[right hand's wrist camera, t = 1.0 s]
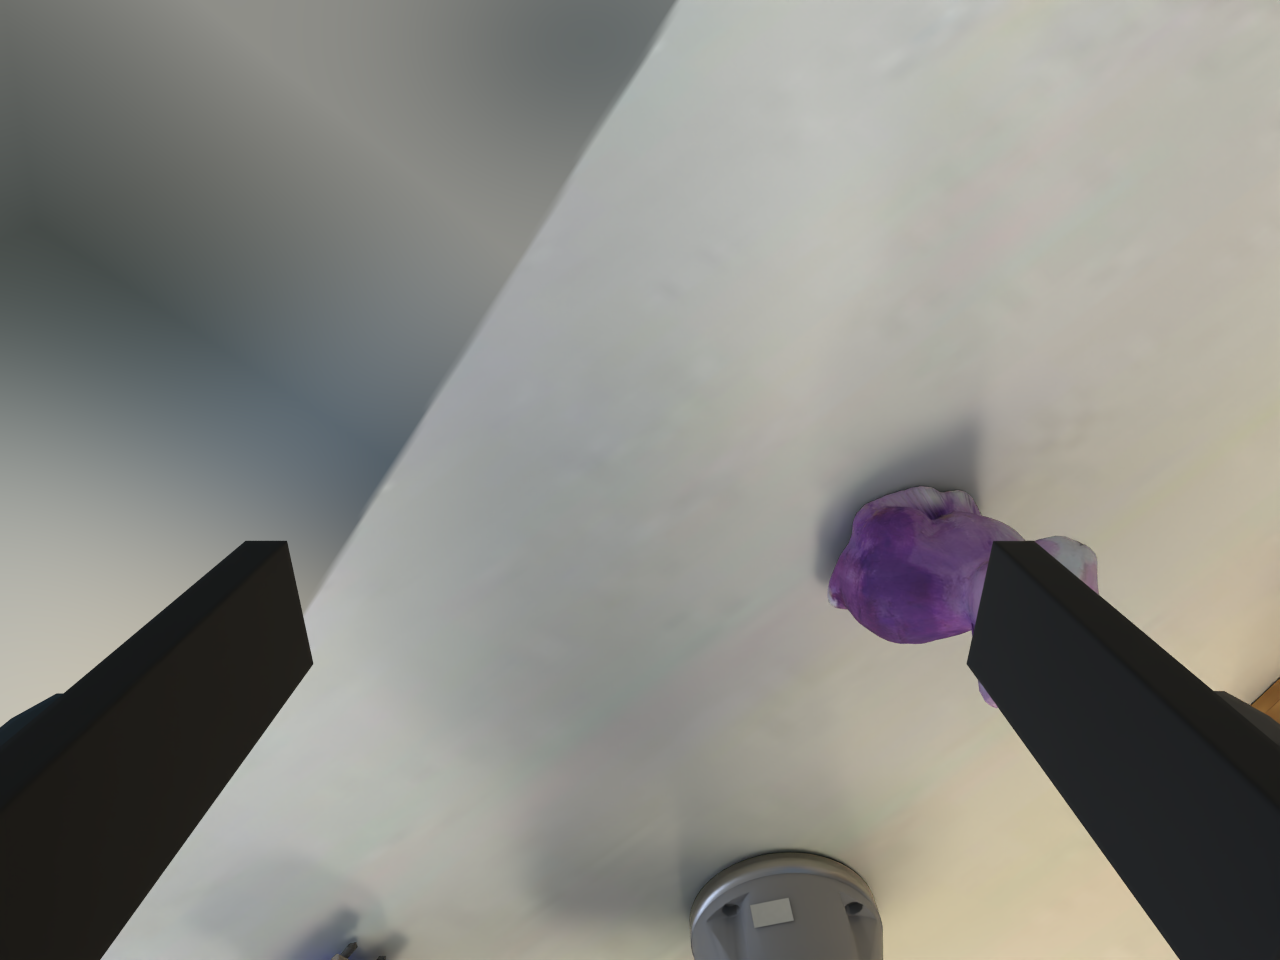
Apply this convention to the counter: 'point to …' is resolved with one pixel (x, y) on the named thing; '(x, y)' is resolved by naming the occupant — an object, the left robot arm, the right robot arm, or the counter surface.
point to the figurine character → (349, 950)
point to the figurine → (929, 565)
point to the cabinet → (1270, 702)
